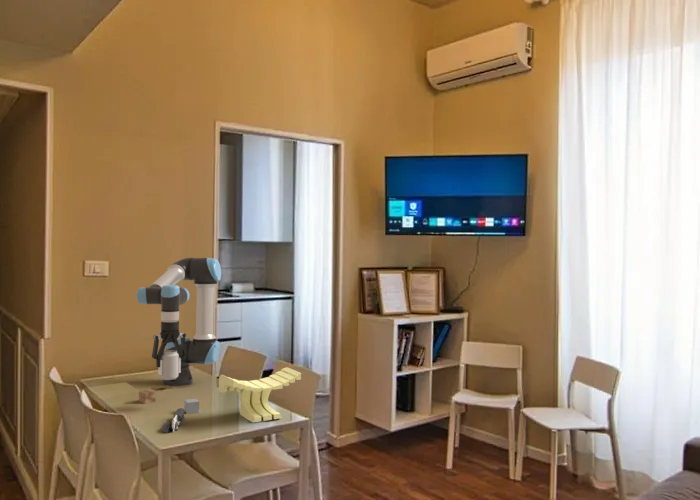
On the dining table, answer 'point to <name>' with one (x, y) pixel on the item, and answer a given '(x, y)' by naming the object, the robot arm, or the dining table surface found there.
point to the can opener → (174, 421)
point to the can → (170, 365)
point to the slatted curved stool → (258, 393)
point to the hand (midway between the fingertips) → (169, 373)
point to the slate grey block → (191, 406)
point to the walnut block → (147, 396)
